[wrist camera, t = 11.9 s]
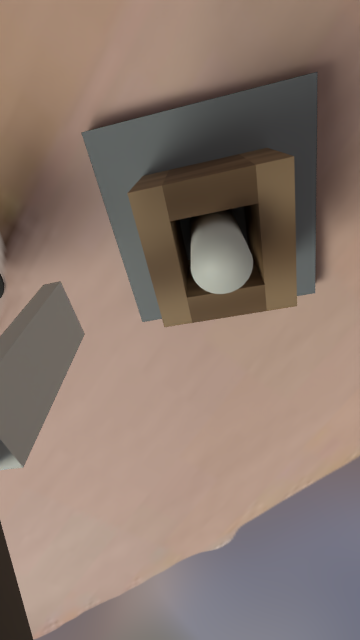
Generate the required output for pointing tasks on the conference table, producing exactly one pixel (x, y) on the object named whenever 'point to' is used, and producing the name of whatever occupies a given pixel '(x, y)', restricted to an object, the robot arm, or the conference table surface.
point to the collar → (213, 196)
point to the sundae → (1, 286)
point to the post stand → (200, 146)
